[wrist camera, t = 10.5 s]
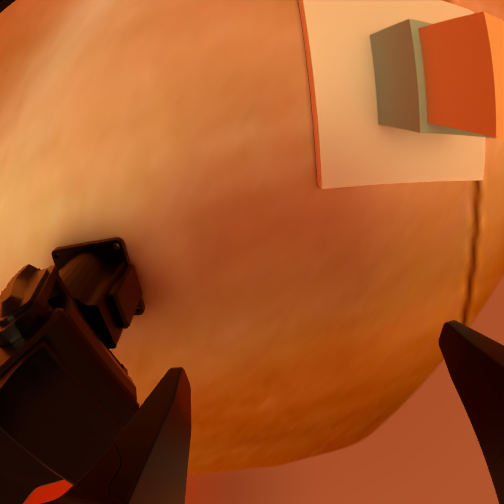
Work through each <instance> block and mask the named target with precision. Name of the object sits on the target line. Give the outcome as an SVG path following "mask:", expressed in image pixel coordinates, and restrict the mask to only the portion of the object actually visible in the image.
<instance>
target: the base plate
mask: <svg viewBox="0 0 504 504" xmlns="http://www.w3.org/2000/svg"><path fill="white" fill-rule="evenodd" d="M298 3H299V9H300V16H301V22H302V29H303V36H304V43H305V51H306V59H307V67H308V76H309V85H310V94H311V104H312V115H313V126H314V139H315V153H316V168H317V185H318V186H319V187H320V188H321V189H330V188H341V187H353V186H366V185H380V184H396V183H414V182H435V181H466V180H483V177H484V162H485V137H476V136H465V135H451V134H433V133H418V132H414V131H409V130H404V129H399V128H394V127H389V126H384V125H378V112H377V97H376V85H375V75H374V65H373V57H372V49H371V42H370V35H371V34H373V33H376V32H378V31H380V30H382V29H385V28H387V27H390V26H392V25H394V24H397V23H399V22H402V21H404V20H407V19H413V20H418V21H423V22H427V23H431V24H435V23H438V22H442V21H446V20H449V19H453V18H457V17H462V16H466V15H470V14H474V12H473V11H471V10H468V9H466V8H463V7H460V6H457V5H454V4H451V3H448V2H445V1H442V0H298Z"/></svg>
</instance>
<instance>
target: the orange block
mask: <svg viewBox="0 0 504 504" xmlns="http://www.w3.org/2000/svg"><path fill="white" fill-rule="evenodd" d="M418 31H419V38H420V44H421V52H422V60H423V68H424V79H425V91H426V107H427V123H431V124H436V125H441V126H446V127H451V128H456V129H461V130H465V131H469V132H474V133H478V134H482V135H486V136H489V137H493V138H498V139H504V20H502V19H499V18H497V17H495V16H493V15H490V14H488V13H486V12H480V13H475V14H470V15H466V16H462V17H457V18H453V19H449V20H446V21H442V22H438V23H435V24H431V25H428V26H424V27H421V28H418Z"/></svg>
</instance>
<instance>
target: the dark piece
mask: <svg viewBox="0 0 504 504" xmlns="http://www.w3.org/2000/svg"><path fill="white" fill-rule="evenodd" d="M14 1H15V0H0V13H1V12H2V11H3V10H4V9H5V8H7V7H8V6H9V5H10V4H12V3H13V2H14Z"/></svg>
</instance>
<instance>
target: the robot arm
mask: <svg viewBox="0 0 504 504" xmlns="http://www.w3.org/2000/svg"><path fill="white" fill-rule="evenodd" d="M115 243H117V244H119V247H116V246H115ZM57 253H58V254H59V256H58V255H57ZM52 258H53V260H54V263H55V265H53V266H51V267H49V268H46V269H43V270H40V268H39V269H37V268H36V267H34V266H32V265H30V264H28V265H26V266H24V267H23V268H22V269H21V270H20V271H19V272H18V273H17V274H16V275H15V276H14V277H13V278H12V279H11V280H10V282H9V283H8V285H7V287H6V288H5V289H4V290H3V291H2V292H1V296H0V504H24V503H25V502H26V501H27V499H28V498H29V497H30V495H31V494H32V493H33V492H34V491H35V489H37V488H38V487H41V486H45V485H49V484H52V483H55V482H59V481H62V480H66V481H68V482H69V483H70V484H72V485H73V486H72V487H71V488H70V489H69V490H68V491H67V492H66V493H65V494H63V495H62V496H61V497H59V498H57V499H55V500H53V501H50V502H46V503H42V504H184V503H185V491H186V478H187V468H188V458H189V447H190V438H191V388H190V383H189V380H188V378H187V375H186V373H185V370H184V369H183V368H182V367H176V368H170V369H169V370H168V372H167V373H166V374H165V375H164V377H163V378H162V379H161V381H160V382H159V383H158V385H157V386H156V387H155V388H154V390H153V391H152V392H151V394H150V395H149V396H148V397H147V399H146V400H145V401H144V403H143V404H142V405H141V406H140V408H139V404H138V402H137V394H136V387H135V385H134V383H133V381H132V379H131V378H130V377H129V376H128V372H127V369H126V368H125V367H124V365H123V364H120V362H119V361H118V360H117V359H116V357H115V356H114V355H113V354H112V352H111V351H110V350H109V349H114V348H116V346H117V343H118V340H119V338H120V336H121V333H122V331H123V329H126V328H128V327H129V325H130V323H131V320H132V318H133V315H141V314H142V313H143V312H144V309H145V307H144V304H143V301H142V298H141V296H142V291H141V288H140V285H139V282H138V279H137V275H136V272H135V269H134V266H133V265H132V264H130V261H129V258H128V255H127V251H126V248H125V245H124V242H123V240H122V239H120V238H111V239H105V240H99V241H93V242H87V243H82V244H76V245H70V246H64V247H59V248H56V249H54V250H53V252H52ZM137 307H138V308H140V309H137ZM439 346H440V349H441V352H442V354H443V357H444V360H445V362H446V365H447V368H448V371H449V373H450V376H451V379H452V381H453V383H454V385H455V388H456V389H457V392H458V394H459V396H460V398H461V401H462V403H463V405H464V407H465V410H466V412H467V414H468V417H469V419H470V421H471V424H472V426H473V429H474V431H475V434H476V436H477V439H478V441H479V444H480V446H481V449H482V452H483V455H484V457H485V460H486V463H487V466H488V469H489V472H490V475H491V478H492V481H493V484H494V488H495V490H496V494H497V498H498V501H499V504H504V346H503V345H501V344H500V343H498V342H496V341H494V340H492V339H490V338H488V337H486V336H484V335H482V334H481V333H479V332H477V331H475V330H473V329H471V328H469V327H467V326H465V325H463V324H461V323H459V322H457V321H455V320H452V321H449V322H446V323H445V324H444V325H443V328H442V331H441V334H440V338H439Z"/></svg>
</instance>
